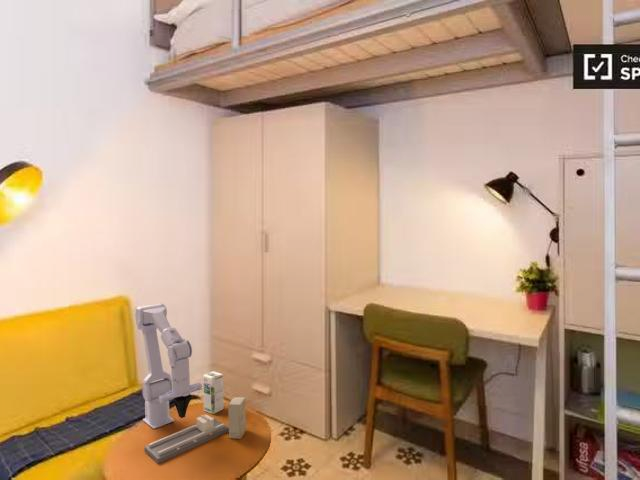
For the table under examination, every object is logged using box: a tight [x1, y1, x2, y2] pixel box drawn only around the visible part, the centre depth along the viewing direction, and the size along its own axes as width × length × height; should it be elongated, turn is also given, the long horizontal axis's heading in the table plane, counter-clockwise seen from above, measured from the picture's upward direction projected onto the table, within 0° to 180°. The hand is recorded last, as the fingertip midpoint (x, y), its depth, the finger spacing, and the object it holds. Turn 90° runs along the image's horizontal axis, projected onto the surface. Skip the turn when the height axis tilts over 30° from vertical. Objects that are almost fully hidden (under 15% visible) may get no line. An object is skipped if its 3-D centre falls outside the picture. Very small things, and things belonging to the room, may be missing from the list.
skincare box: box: [227, 396, 247, 439], centre depth 145 cm, size 6×4×12 cm
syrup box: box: [202, 370, 225, 415], centre depth 163 cm, size 6×6×14 cm
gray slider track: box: [143, 416, 229, 464], centre depth 142 cm, size 10×26×2 cm, turn 136°
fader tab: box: [195, 413, 214, 432], centre depth 146 cm, size 5×4×4 cm
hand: (181, 416), depth 140 cm, fingers closed
